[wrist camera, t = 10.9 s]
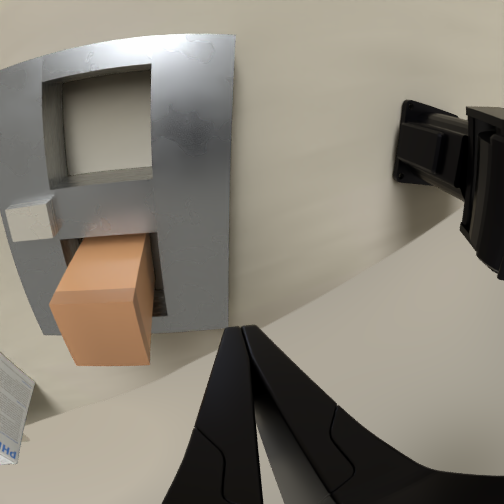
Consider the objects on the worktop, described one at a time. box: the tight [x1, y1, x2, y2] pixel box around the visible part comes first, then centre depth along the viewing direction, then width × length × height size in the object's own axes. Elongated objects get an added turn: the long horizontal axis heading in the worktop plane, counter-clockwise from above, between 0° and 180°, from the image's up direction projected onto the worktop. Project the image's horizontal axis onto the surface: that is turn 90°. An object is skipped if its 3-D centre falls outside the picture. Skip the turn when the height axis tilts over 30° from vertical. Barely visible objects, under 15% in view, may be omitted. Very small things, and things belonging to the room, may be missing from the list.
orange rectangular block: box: [49, 233, 155, 366], centre depth 16 cm, size 4×4×8 cm
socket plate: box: [0, 34, 236, 335], centre depth 16 cm, size 14×18×4 cm
